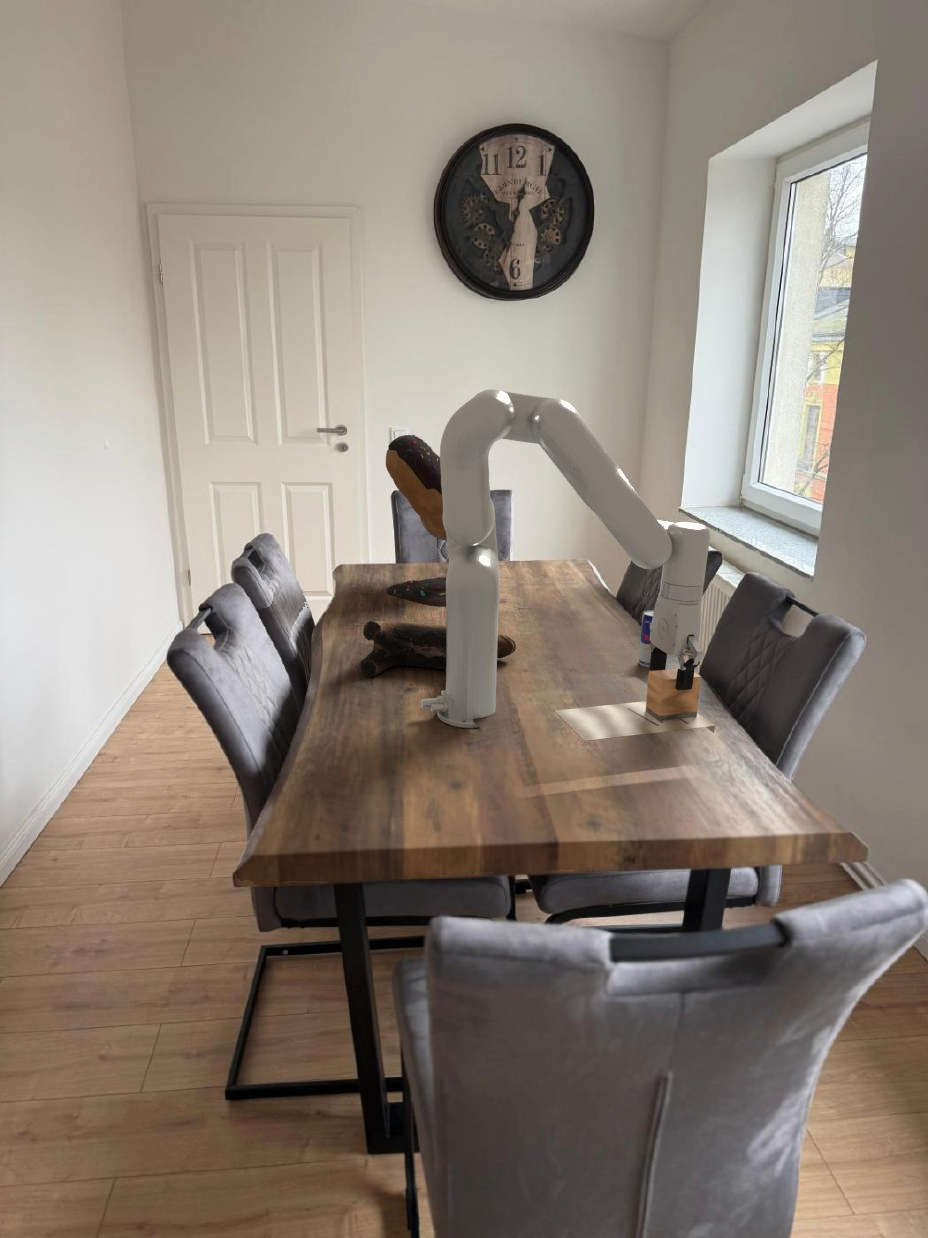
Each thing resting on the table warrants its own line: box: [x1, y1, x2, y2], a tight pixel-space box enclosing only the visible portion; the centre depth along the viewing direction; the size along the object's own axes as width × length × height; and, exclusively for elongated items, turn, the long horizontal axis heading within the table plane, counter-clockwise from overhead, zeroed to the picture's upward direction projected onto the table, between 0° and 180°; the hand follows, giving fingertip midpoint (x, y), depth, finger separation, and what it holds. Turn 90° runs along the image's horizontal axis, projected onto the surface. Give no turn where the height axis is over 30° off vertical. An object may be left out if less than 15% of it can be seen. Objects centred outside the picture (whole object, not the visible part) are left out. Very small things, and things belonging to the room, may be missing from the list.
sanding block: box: [645, 667, 702, 721], centre depth 164 cm, size 8×5×8 cm, turn 107°
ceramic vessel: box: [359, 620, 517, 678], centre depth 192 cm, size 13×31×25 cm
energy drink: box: [638, 609, 654, 669], centre depth 194 cm, size 5×5×12 cm
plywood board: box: [554, 700, 716, 742], centre depth 163 cm, size 26×14×2 cm, turn 107°
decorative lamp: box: [385, 434, 447, 608], centre depth 248 cm, size 30×32×45 cm
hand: (669, 679), depth 163 cm, fingers open, 9 cm apart
